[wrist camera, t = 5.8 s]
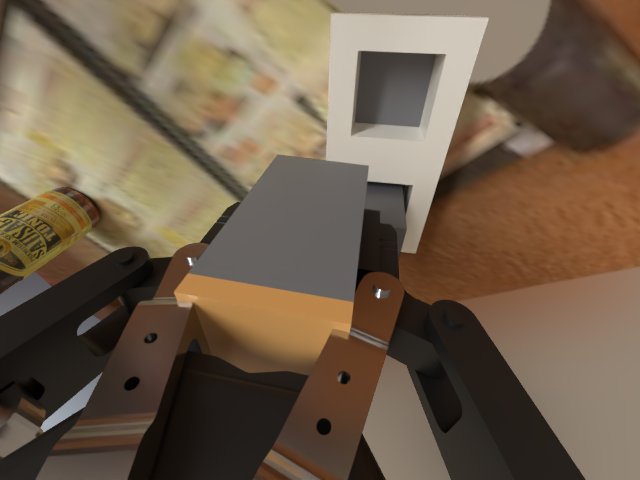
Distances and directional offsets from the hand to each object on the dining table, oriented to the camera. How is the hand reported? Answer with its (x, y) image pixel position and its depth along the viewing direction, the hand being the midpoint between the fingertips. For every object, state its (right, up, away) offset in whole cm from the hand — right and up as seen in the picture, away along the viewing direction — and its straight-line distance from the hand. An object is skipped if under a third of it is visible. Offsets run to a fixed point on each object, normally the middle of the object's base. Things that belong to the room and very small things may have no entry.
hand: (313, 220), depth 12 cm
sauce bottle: (-31, +4, +25) cm, 40 cm away
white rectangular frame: (+6, +8, +13) cm, 16 cm away
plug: (0, +1, +1) cm, 2 cm away
